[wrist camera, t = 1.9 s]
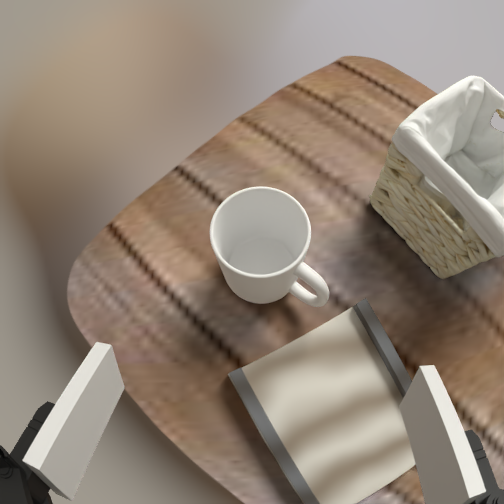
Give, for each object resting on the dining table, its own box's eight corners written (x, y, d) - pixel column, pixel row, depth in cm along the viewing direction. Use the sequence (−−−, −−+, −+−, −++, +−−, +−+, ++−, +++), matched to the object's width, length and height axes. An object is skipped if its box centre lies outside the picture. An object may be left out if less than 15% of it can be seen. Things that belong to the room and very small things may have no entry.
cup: (257, 221, 37) (254, 170, 28) (339, 284, 34) (366, 250, 24) (209, 272, 35) (189, 234, 26) (292, 343, 32) (305, 331, 22)
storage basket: (440, 131, 42) (475, 68, 29) (506, 199, 37) (557, 148, 24) (354, 203, 38) (391, 121, 24) (441, 297, 33) (517, 253, 19)
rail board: (434, 443, 26) (446, 447, 23) (314, 518, 24) (318, 529, 21) (359, 303, 33) (367, 296, 30) (229, 374, 31) (225, 374, 28)
